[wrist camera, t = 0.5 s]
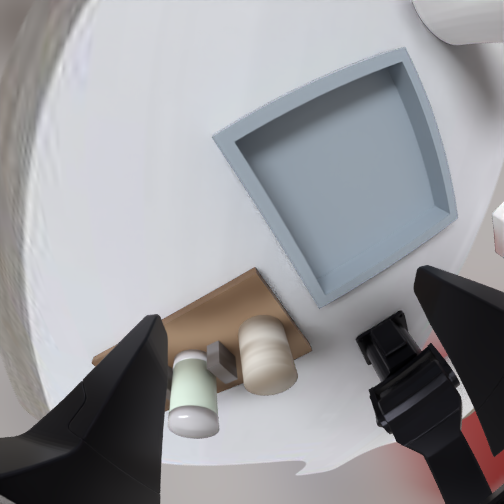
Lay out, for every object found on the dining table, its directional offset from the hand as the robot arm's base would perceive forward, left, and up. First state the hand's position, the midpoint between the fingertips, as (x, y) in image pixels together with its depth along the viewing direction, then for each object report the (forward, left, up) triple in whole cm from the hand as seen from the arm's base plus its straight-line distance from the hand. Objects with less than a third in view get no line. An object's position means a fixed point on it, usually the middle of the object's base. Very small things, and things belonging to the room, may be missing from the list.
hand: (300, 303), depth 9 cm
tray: (-3, -8, -14) cm, 16 cm away
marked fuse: (-12, +14, -13) cm, 23 cm away
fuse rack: (-12, +14, -14) cm, 23 cm away
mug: (+9, -25, -14) cm, 30 cm away
